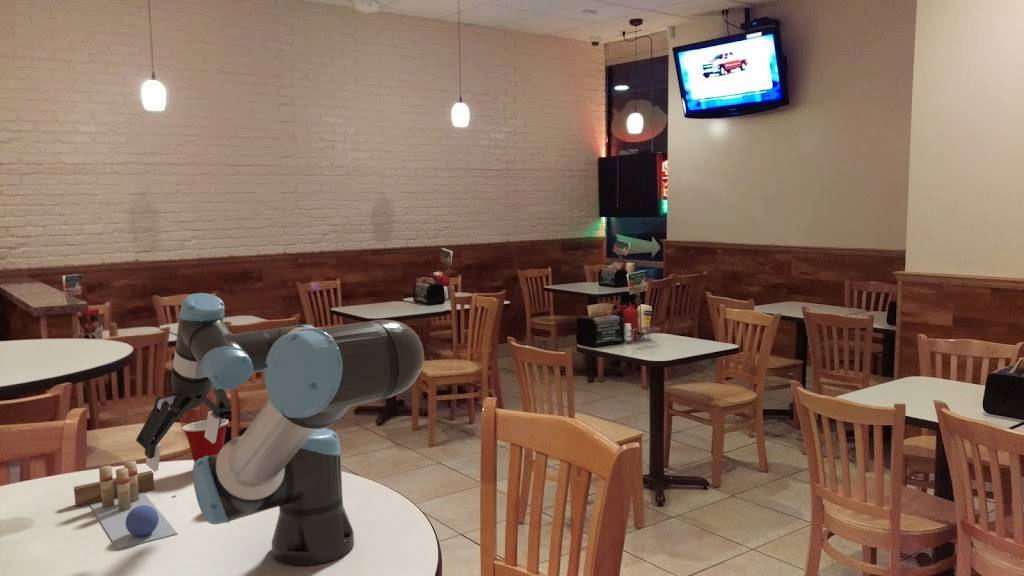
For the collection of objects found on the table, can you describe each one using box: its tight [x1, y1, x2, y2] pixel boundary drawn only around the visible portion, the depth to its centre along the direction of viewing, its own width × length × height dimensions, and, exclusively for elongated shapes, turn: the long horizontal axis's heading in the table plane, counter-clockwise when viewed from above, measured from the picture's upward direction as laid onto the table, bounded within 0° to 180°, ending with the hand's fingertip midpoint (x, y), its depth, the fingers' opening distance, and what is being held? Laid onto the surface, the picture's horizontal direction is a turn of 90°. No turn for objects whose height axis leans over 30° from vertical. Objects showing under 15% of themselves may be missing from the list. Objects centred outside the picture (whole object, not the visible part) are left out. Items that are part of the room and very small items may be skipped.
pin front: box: [115, 467, 131, 511], centre depth 169 cm, size 2×2×9 cm
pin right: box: [123, 460, 139, 502], centre depth 174 cm, size 2×2×9 cm
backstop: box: [73, 470, 155, 507], centre depth 178 cm, size 2×16×4 cm, turn 127°
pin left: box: [98, 465, 115, 508], centre depth 171 cm, size 2×2×9 cm
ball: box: [126, 505, 159, 537], centre depth 156 cm, size 6×6×6 cm
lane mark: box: [89, 492, 178, 551], centre depth 165 cm, size 29×11×1 cm, turn 37°
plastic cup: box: [181, 418, 229, 464], centre depth 194 cm, size 11×11×12 cm
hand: (181, 453), depth 159 cm, fingers open, 13 cm apart
